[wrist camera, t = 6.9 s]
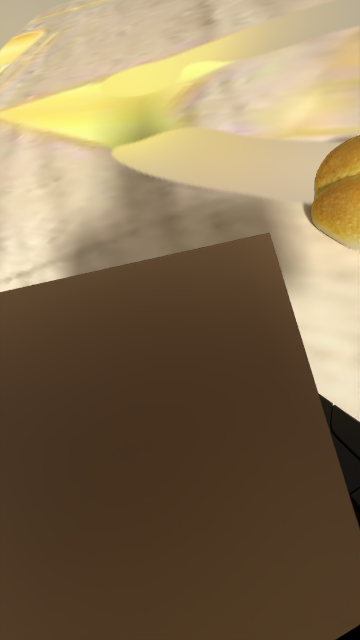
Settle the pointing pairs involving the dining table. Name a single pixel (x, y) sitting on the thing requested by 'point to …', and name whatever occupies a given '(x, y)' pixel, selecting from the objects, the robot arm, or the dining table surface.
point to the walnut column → (169, 459)
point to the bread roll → (339, 194)
